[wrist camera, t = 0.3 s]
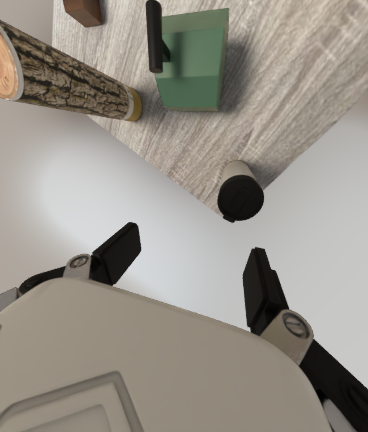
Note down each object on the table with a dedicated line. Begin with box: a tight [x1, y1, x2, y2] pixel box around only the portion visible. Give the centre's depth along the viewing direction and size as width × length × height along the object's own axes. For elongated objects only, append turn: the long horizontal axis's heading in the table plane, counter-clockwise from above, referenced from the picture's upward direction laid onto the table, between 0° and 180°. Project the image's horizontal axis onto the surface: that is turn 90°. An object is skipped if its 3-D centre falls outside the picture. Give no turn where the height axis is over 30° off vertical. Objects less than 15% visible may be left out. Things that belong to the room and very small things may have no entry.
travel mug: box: [217, 160, 264, 223], centre depth 28 cm, size 6×7×20 cm
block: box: [63, 0, 102, 27], centre depth 28 cm, size 4×4×4 cm
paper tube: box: [0, 20, 142, 121], centre depth 25 cm, size 7×7×25 cm
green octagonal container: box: [146, 0, 229, 111], centre depth 23 cm, size 16×11×10 cm
